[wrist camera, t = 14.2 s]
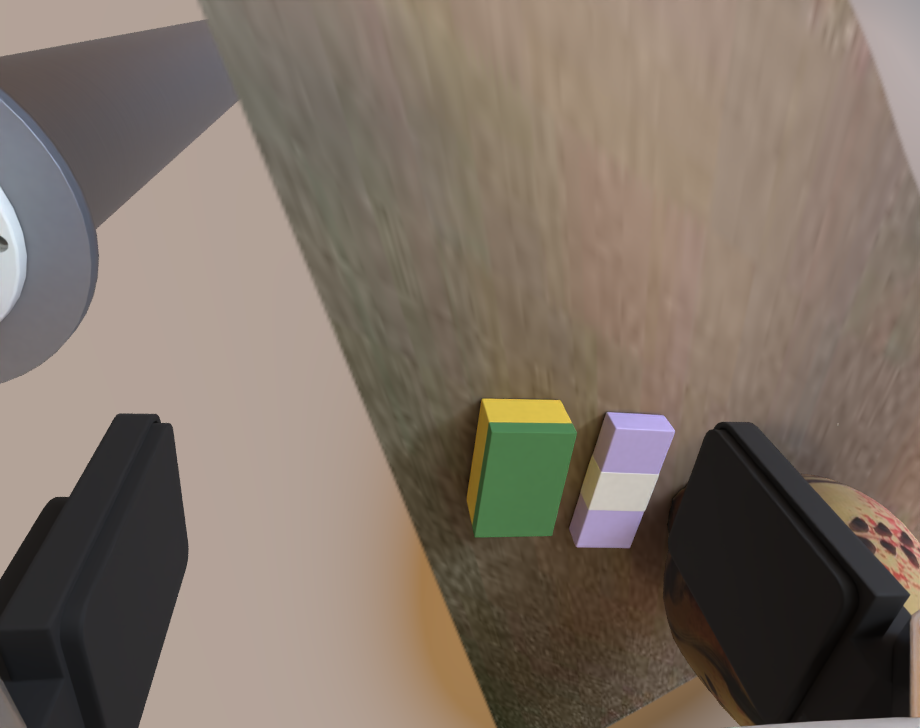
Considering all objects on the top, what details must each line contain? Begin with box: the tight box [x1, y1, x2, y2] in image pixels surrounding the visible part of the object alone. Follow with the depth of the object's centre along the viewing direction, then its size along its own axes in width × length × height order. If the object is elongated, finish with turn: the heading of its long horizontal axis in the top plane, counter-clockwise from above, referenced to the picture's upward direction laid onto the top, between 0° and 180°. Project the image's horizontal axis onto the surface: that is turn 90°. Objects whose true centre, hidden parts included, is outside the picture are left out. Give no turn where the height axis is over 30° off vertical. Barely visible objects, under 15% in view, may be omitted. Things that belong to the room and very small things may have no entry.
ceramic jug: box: [663, 424, 920, 726], centre depth 34 cm, size 17×15×30 cm
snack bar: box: [569, 412, 675, 548], centre depth 42 cm, size 10×4×2 cm, turn 171°
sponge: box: [467, 399, 577, 537], centre depth 40 cm, size 8×5×4 cm, turn 174°
